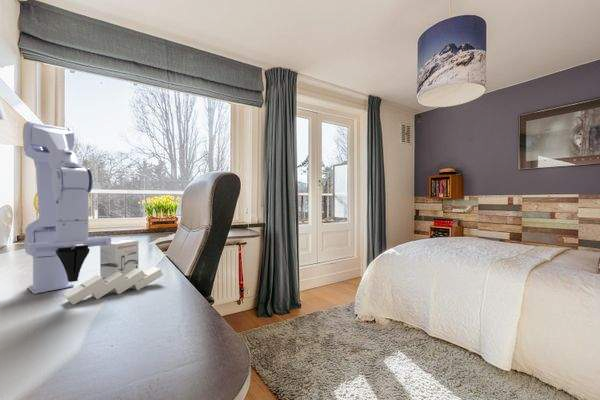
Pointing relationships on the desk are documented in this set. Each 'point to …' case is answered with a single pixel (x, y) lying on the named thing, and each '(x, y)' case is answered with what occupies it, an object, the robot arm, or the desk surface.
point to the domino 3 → (130, 280)
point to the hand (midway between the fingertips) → (72, 280)
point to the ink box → (118, 257)
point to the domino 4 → (148, 278)
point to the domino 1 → (84, 289)
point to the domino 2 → (110, 284)
